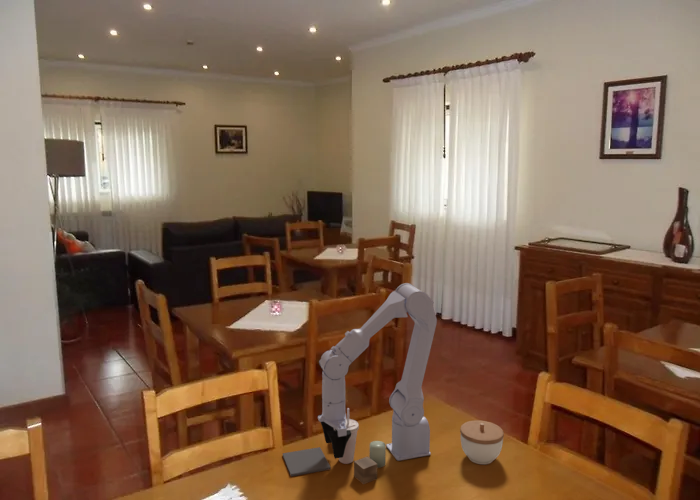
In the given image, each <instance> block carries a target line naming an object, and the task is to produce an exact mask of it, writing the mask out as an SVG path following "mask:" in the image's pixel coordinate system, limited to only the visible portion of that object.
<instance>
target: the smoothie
mask: <svg viewBox="0 0 700 500" xmlns="http://www.w3.org/2000/svg"><path fill="white" fill-rule="evenodd" d="M346 412H347V413H346V428H347V430H350V431H351V437H350V438H349V440H348V442H347V444H346V447H345V451H344V455H343V457H342V458H338V461H339V462H340V463H342V464H345V465H346V464H347V465H349V464H351V463H354V458H355V451H356V450H355V449H356V445H357V443H356V442H357V435H358V431H359V428H360V427H359V422H358V421H357V420H355V419H353V418H352V419H351V418H350V408H349V407H347V408H346ZM334 430H335V428H334Z"/></svg>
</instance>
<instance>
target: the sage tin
mask: <svg viewBox="0 0 700 500" xmlns="http://www.w3.org/2000/svg"><path fill="white" fill-rule="evenodd" d="M386 449H387V447H386V443H385V442H384V441H381V440H373V441H371V442H369V458H370V459H372V460H373V461H374V462H375V463H377V469H378V468H383V467H384V466H386V453H387V451H386Z"/></svg>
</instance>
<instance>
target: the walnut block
mask: <svg viewBox="0 0 700 500" xmlns="http://www.w3.org/2000/svg"><path fill="white" fill-rule="evenodd" d="M353 477H354V478H355V479H356V480H358V481H359V482H360V483H361V484H362V485H365V484H367V483H370V482H371V483H372V482H373V481H375V480H378V468H377V463H375V462H374V461H373V460H372V459H370V456H365V457H363V458H359V459H357V460H353Z"/></svg>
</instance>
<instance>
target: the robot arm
mask: <svg viewBox="0 0 700 500" xmlns="http://www.w3.org/2000/svg"><path fill="white" fill-rule="evenodd" d="M408 315H409V316H408ZM408 317H410V318H411V320H412V321H413V322H414V325H413V330H412V333H411V336H410V337H411V338H410V342H409V345H408V350H407V355H406V359H405V363H404V368H403V371H402V375H401V380H399V381H398V382H397V383H396V385H395V388H394V390H393V391H392V393H391V394H390V396H389V398H388V399H389V401H388V403H389V405H390V407H391V409H392V410H393V412H392V416H391V443H385V445H386V449H388V450H389V451H390V453H391V455H392V456H393V457H394V458H395V460H396V461H404V460H410V459H416V458H420V457H426V456H430V455H432V454H431V451H430V446H431V445H430V443H431V438H430V437H431V429H430V424H429V421H428V419H427V418H426V416H425V410H424V400H425V399H424V393H423V389H422V386H423V381H424V377H425V373H426V369H427V365H428V362H429V357H430V353H431V348H432V345H433V340H434V335H435V332H436V327H437V325H438V324H437V323H438V319H437V316H436V312H435V308H434V300H433V299H432V298H431V297H430V296H429V294H428V293H426V292H425V291H422V290H421V289H419V288H417V287H416V286H415V285H413V284H411V283H410V282H409V283H408V282H405V283H401V284H400V285H399V286H397V288H396V289H395V290H393V291H392V292H391V293H390V294H388V297H387V299H386V300H385V301H384V302H383V303H382V305H380V306H379V308H378V309H377V310H376V311H375V312H374V313H373V314H372V315H371V317H369V318H368V320H367V321H366V322H365V323H363V325H362V326H361V327H360V328H353V329H351V330H350V331H349V330H346V332H345V333H344V335H345V336H344V337H343V338H341V340H340V341H339V342H338V343H336V345H335V346H334V345H332V347H331V348H330V349H329V350H326V351H325V352H324V353H322V355H321V357H320V359H319V361H318V363H319V364H318V365H319V366H320V368H321V369H322V374H321V377H322V380H321V384H322V385H321V398H322V400H321V403H322V404H321V405H322V408H321V409H322V412H321V414H319V415H317V419H318V422H319V423H320V425H321V427H322V432H323V436H324V440H325V443H326V444H331V447H332V448H331V449H332V454H333V457H334V459H335V460H336V459H339V458H342V457H343V455H344V451H345V447H346V444H347V442H348V440H349V438H350V437H351V431H350V430H347V428H346V419H347V413H346V376H347V374H348V372H349V366H350V365H351V364H352V363H353V362H354V361H355V360H356V359H357V358H359V356H360V355H361V354H362V353H363V352H365V351H366V349H367V348H369V346H370V339H371V338H372V337H373V336H374V335H376V333H378V332H379V331H380V330H381V329H382V328H384V327H385V326H386V325H387V324H389V322H391V321H392V320H393V319H395V318H397V319H398V318H408ZM334 428H335V430H334Z"/></svg>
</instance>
